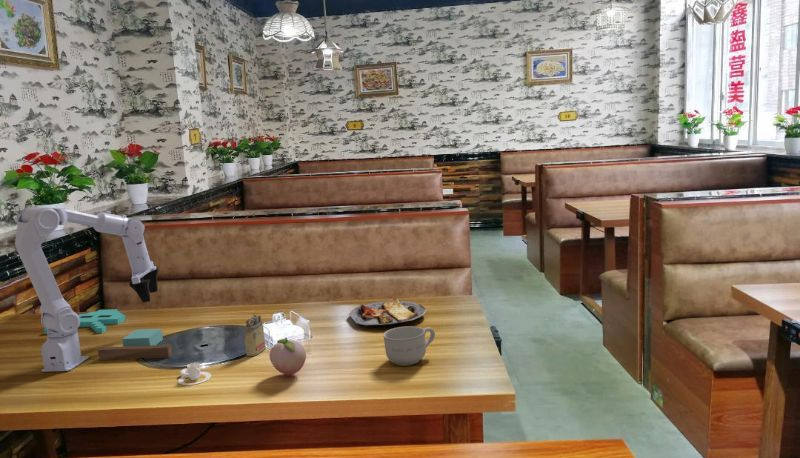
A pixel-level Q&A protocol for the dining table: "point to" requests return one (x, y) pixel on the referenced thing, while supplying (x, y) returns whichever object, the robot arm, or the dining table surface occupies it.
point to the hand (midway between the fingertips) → (150, 296)
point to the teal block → (143, 337)
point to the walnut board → (134, 352)
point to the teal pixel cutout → (99, 319)
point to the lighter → (254, 336)
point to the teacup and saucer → (193, 374)
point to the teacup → (407, 344)
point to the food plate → (387, 312)
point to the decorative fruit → (288, 356)
